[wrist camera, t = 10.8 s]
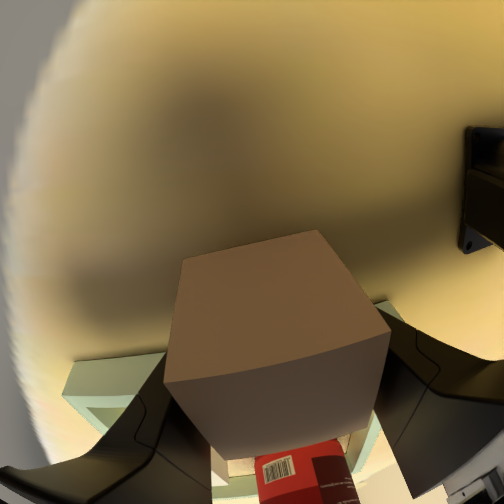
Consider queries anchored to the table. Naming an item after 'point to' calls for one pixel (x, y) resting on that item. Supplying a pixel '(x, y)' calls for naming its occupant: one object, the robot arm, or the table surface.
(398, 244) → the table surface
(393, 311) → the mint green rectangular frame
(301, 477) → the canned food
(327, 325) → the brown carton
